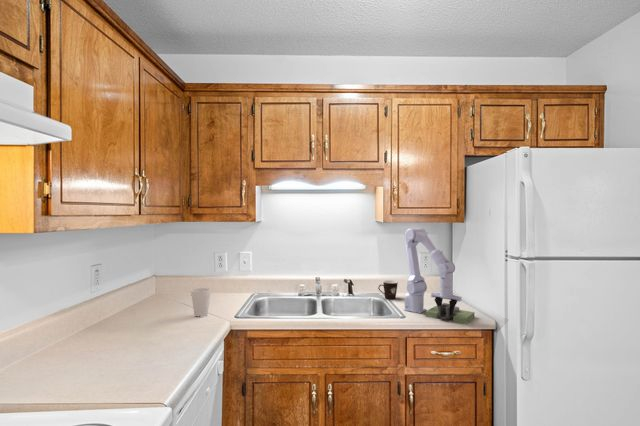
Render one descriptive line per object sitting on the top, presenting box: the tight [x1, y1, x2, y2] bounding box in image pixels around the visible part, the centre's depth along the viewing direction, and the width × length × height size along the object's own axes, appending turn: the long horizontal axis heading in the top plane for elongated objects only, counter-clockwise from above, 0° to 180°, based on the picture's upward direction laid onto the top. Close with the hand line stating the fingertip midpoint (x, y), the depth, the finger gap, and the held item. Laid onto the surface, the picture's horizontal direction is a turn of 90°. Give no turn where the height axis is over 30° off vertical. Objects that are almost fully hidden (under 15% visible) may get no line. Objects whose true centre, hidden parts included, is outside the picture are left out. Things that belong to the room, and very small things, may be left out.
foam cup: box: [190, 287, 211, 317], centre depth 198 cm, size 10×9×13 cm
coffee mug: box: [378, 279, 399, 301], centre depth 236 cm, size 12×9×10 cm
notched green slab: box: [425, 305, 475, 325], centre depth 198 cm, size 20×14×4 cm
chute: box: [437, 302, 454, 321], centre depth 194 cm, size 5×8×6 cm, turn 142°
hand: (445, 313), depth 194 cm, fingers closed on chute, 5 cm apart
